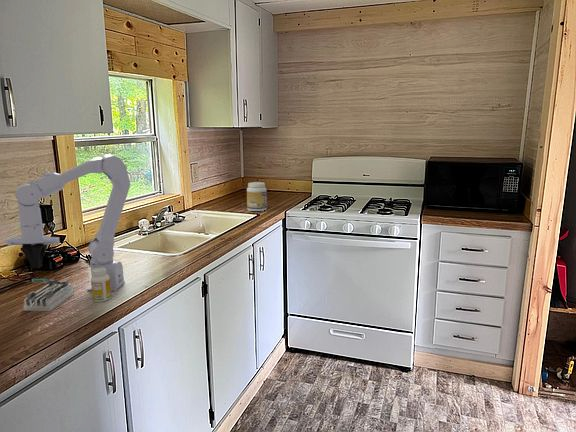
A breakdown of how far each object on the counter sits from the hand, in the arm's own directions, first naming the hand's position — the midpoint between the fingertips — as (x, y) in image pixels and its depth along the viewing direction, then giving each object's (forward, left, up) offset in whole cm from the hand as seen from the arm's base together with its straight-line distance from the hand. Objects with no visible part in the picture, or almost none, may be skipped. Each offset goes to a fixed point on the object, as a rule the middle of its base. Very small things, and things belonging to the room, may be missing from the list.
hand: (37, 267), depth 134 cm
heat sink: (-4, +2, -10) cm, 11 cm away
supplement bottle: (-19, -1, -11) cm, 22 cm away
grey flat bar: (-4, +1, -5) cm, 6 cm away
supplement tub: (-51, -138, -11) cm, 147 cm away
